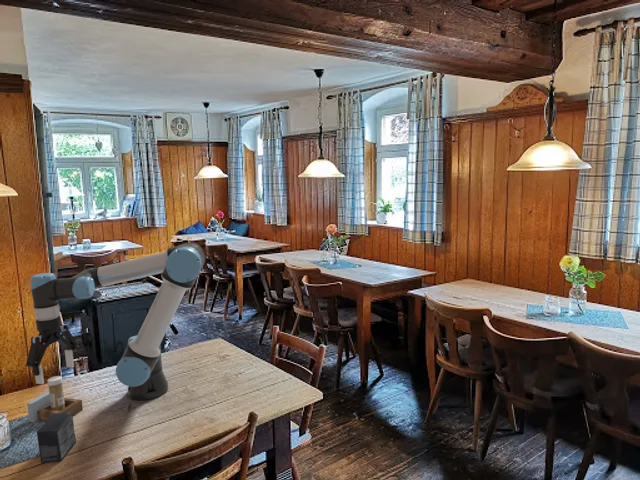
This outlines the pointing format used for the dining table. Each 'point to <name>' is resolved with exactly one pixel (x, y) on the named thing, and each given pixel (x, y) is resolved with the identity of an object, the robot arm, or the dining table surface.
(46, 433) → the small box
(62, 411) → the socket block
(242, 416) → the dining table surface
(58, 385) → the sprinkles bottle
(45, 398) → the board
